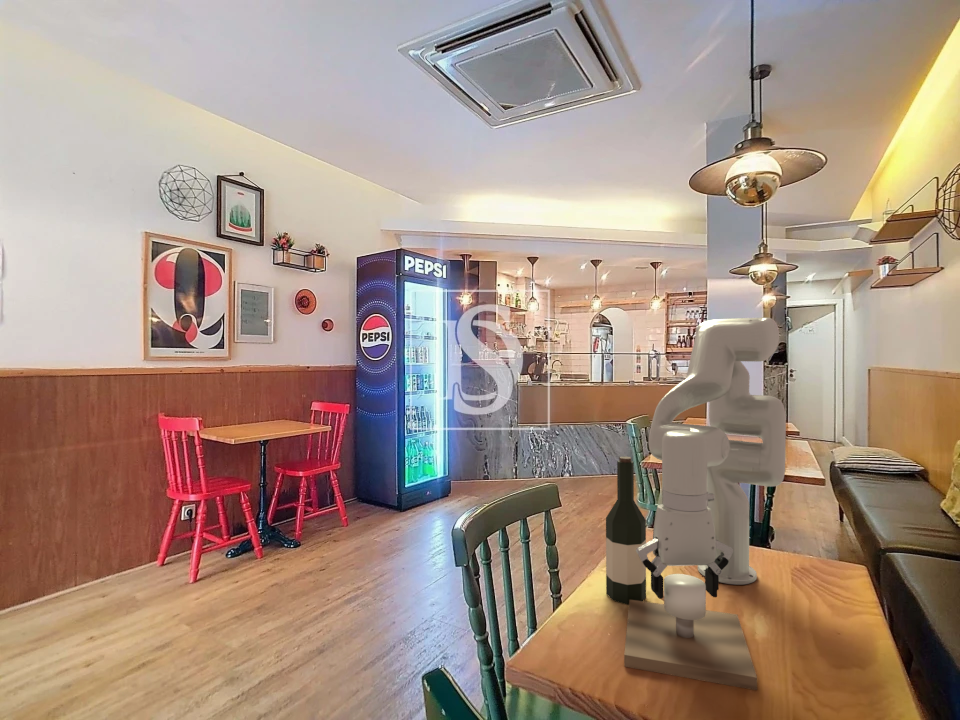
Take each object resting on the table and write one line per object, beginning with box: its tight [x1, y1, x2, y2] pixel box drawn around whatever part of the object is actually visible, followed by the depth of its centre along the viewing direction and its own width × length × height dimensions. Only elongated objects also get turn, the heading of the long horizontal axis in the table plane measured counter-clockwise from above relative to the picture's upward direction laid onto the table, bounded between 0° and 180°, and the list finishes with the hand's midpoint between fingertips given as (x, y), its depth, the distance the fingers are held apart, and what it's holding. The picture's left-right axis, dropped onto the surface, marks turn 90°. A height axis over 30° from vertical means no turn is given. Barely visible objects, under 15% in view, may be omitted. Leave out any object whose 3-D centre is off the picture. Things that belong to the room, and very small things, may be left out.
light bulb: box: [660, 573, 707, 620], centre depth 94 cm, size 7×9×5 cm
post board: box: [623, 600, 758, 691], centre depth 93 cm, size 20×20×6 cm
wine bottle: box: [605, 456, 647, 606], centre depth 112 cm, size 8×8×30 cm
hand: (684, 594), depth 93 cm, fingers open, 9 cm apart
